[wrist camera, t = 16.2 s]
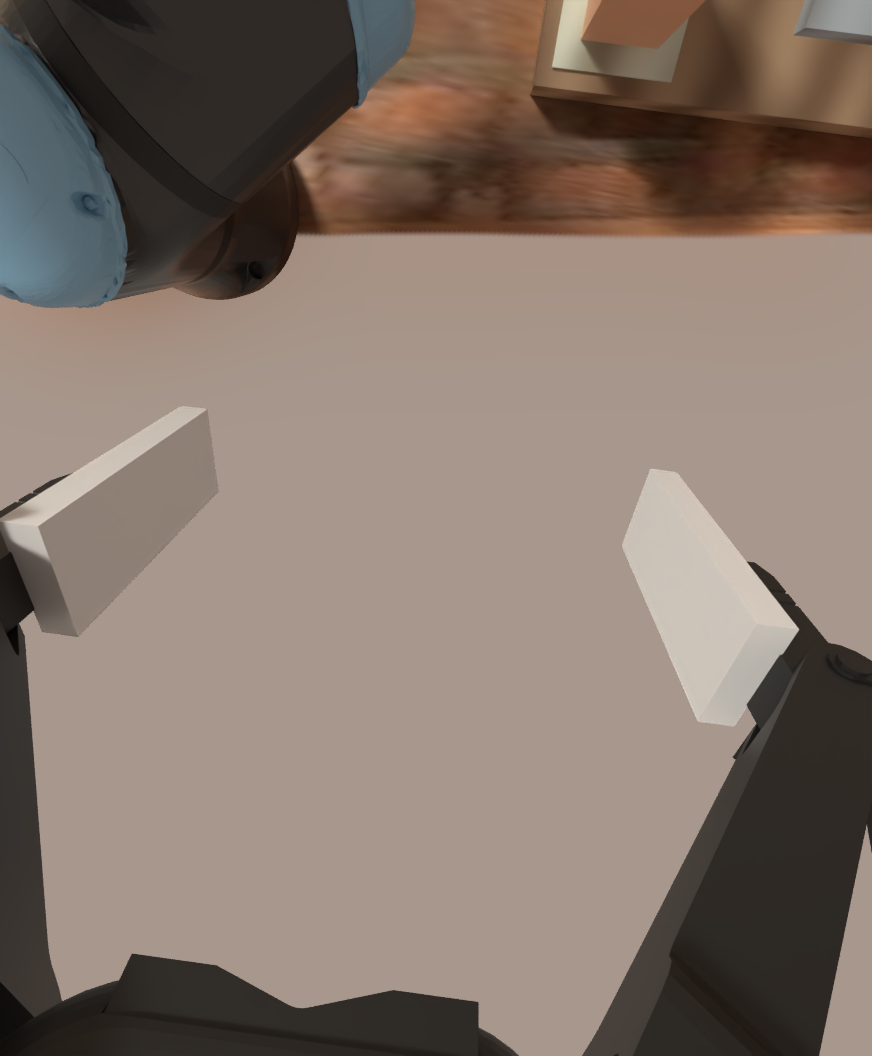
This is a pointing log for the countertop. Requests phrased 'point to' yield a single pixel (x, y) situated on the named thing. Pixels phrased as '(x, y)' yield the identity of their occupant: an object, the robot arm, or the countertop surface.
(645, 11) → the orange block
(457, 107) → the countertop surface
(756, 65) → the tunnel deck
